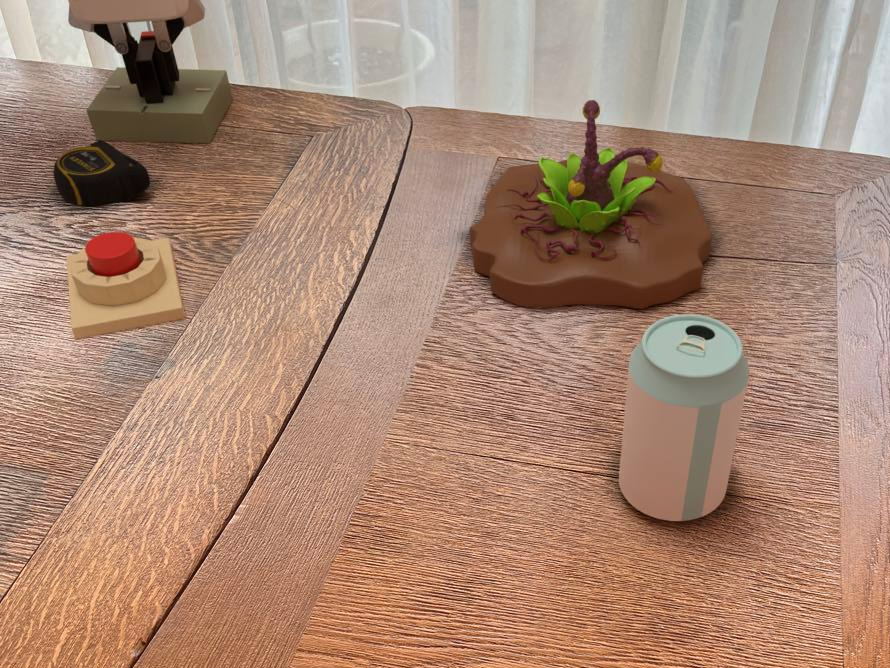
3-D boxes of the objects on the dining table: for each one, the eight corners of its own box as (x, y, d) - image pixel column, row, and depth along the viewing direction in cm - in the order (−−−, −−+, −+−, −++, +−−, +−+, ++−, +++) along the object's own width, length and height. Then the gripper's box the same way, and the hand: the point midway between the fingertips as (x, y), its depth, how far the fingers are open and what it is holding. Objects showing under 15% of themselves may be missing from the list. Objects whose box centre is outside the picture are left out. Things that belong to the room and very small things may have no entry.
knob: (163, 102, 97) (150, 57, 94) (146, 103, 97) (132, 58, 94) (169, 74, 101) (157, 29, 98) (152, 75, 101) (140, 30, 98)
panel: (93, 143, 98) (82, 111, 96) (127, 94, 105) (118, 62, 102) (208, 147, 98) (199, 114, 95) (234, 97, 104) (227, 65, 102)
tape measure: (159, 198, 92) (147, 159, 89) (89, 228, 88) (74, 188, 86) (118, 170, 95) (106, 131, 92) (49, 198, 91) (34, 159, 89)
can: (606, 460, 70) (616, 314, 61) (704, 445, 71) (729, 299, 62) (635, 536, 65) (651, 391, 56) (740, 518, 66) (772, 372, 57)
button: (91, 256, 79) (83, 236, 78) (139, 247, 80) (132, 228, 79) (93, 282, 77) (86, 262, 76) (143, 273, 78) (136, 253, 76)
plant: (699, 183, 94) (715, 58, 85) (717, 313, 81) (738, 181, 72) (480, 179, 94) (474, 54, 86) (462, 307, 81) (454, 176, 73)
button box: (75, 278, 83) (58, 235, 80) (175, 260, 85) (162, 217, 82) (81, 352, 77) (62, 308, 74) (189, 331, 79) (176, 287, 76)
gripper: (-12, -112, 82) (67, 113, 96) (191, -121, 83) (240, 102, 97) (6, -141, 87) (78, 77, 101) (197, -149, 88) (242, 67, 102)
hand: (157, 88), depth 99 cm, fingers closed on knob
